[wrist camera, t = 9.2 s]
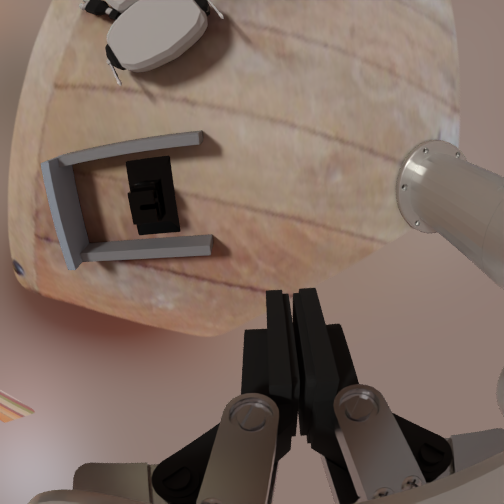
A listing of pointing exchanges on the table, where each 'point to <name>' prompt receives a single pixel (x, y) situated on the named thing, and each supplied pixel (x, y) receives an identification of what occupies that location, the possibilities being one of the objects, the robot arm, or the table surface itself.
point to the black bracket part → (152, 195)
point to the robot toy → (150, 30)
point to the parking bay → (71, 219)
